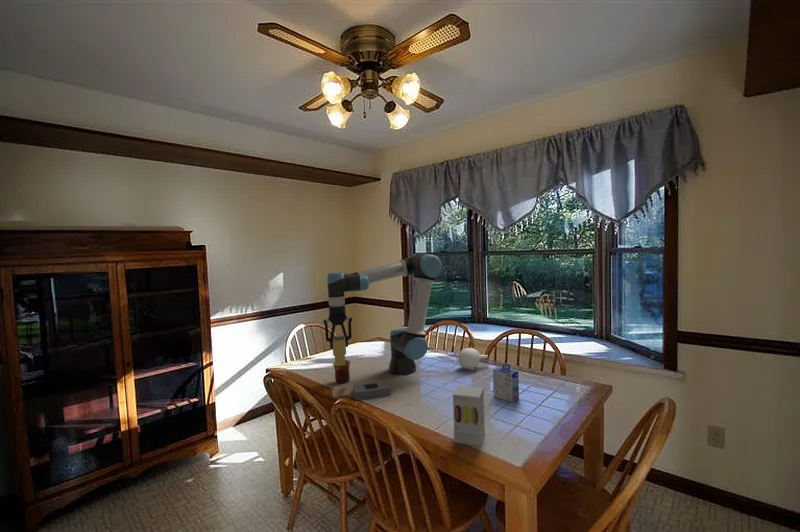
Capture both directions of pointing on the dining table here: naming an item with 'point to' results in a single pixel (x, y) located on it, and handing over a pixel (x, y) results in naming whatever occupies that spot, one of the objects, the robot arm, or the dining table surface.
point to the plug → (339, 350)
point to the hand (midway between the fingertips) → (339, 354)
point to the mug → (342, 373)
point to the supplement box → (469, 415)
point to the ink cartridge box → (505, 383)
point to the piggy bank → (470, 358)
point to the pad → (342, 392)
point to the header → (371, 390)
